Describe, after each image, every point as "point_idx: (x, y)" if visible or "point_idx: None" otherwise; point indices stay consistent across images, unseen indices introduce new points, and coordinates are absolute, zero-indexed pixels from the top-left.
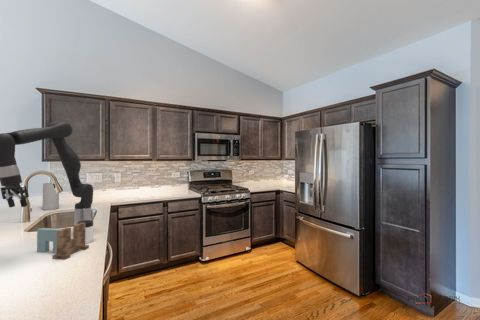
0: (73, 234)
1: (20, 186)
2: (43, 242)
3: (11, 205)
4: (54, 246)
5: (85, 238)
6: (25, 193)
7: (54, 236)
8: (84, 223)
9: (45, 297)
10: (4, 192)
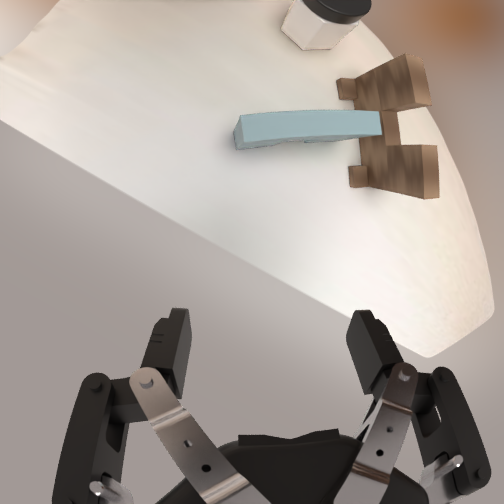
0: (391, 108)
1: (454, 500)
2: (272, 143)
3: (188, 340)
4: (319, 140)
5: (339, 40)
6: (443, 411)
7: (335, 137)
8: (421, 64)
9: (448, 318)
10: (117, 474)
